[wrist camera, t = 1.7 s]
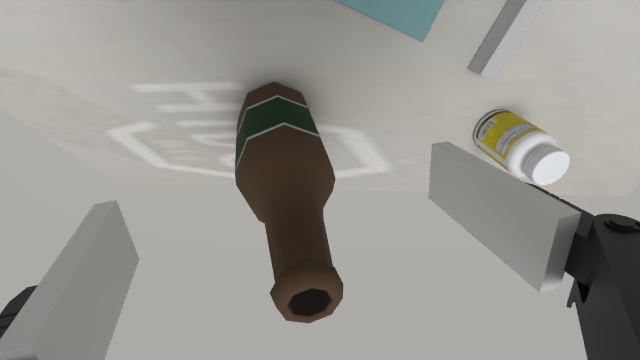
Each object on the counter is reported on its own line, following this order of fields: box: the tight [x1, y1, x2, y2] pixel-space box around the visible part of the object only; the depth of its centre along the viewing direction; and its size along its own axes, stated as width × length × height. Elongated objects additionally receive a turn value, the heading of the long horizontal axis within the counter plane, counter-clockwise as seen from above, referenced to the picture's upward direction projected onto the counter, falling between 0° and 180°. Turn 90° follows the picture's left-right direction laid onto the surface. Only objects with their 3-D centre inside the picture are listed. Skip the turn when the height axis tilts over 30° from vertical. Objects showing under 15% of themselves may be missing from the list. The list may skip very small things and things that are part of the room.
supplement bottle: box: [474, 110, 570, 185], centre depth 39 cm, size 5×5×10 cm
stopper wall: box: [468, 0, 547, 81], centre depth 34 cm, size 14×2×2 cm, turn 157°
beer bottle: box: [235, 83, 343, 323], centre depth 27 cm, size 8×8×24 cm
